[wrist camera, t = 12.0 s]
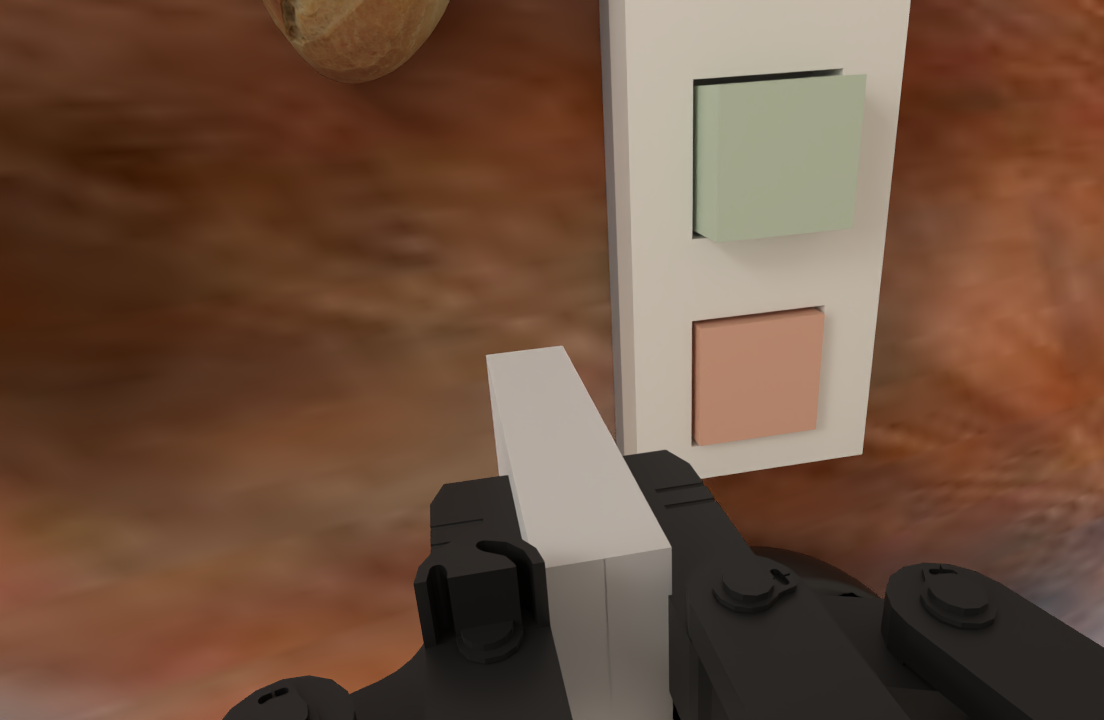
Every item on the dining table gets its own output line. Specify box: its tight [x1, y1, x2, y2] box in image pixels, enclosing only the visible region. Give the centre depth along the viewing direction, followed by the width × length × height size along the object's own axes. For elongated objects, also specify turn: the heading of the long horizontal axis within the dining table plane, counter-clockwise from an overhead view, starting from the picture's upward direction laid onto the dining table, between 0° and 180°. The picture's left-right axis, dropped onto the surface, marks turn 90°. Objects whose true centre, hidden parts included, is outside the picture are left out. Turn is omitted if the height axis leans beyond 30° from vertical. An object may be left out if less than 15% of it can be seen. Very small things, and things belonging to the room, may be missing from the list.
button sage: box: [693, 74, 867, 243], centre depth 34 cm, size 7×7×3 cm
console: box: [599, 0, 911, 479], centre depth 37 cm, size 14×36×5 cm, turn 4°
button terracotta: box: [691, 307, 825, 446], centre depth 40 cm, size 7×7×3 cm
